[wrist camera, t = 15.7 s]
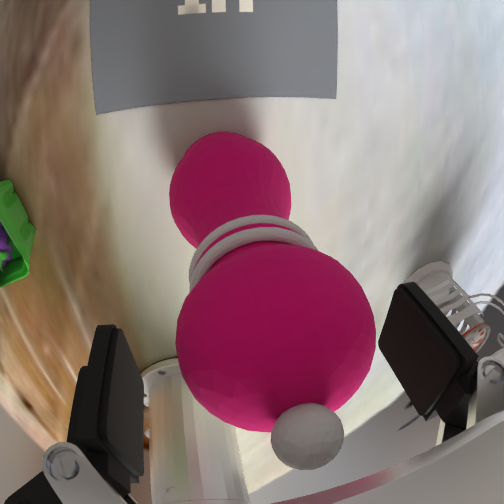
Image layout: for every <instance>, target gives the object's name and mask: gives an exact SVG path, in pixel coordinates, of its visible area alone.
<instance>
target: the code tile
mask: <svg viewBox="0 0 504 504" xmlns="http://www.w3.org/2000/svg"><path fill="white" fill-rule="evenodd" d="M90 38H91V61H92V76H93V88H94V98H95V108H96V115H98V114H103V113H108V112H113V111H119V110H125V109H130V108H137V107H143V106H150V105H158V104H166V103H174V102H184V101H194V100H206V99H221V98H241V97H309V98H329V99H336V89H337V44H338V23H337V0H90Z"/></svg>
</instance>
